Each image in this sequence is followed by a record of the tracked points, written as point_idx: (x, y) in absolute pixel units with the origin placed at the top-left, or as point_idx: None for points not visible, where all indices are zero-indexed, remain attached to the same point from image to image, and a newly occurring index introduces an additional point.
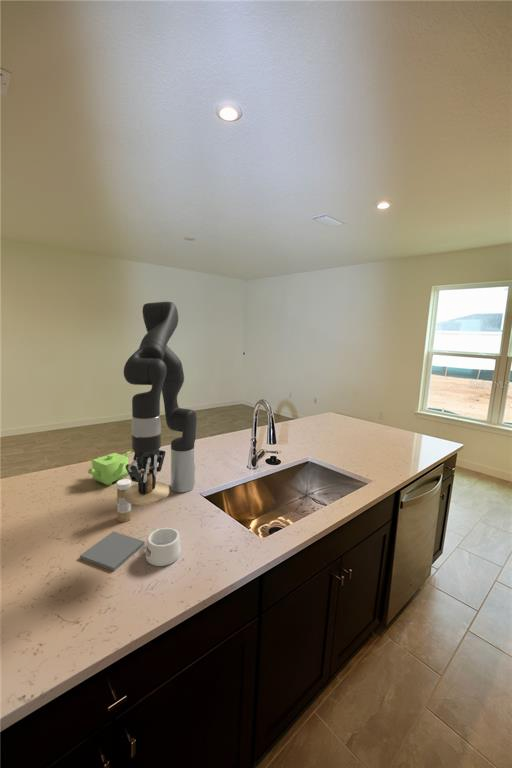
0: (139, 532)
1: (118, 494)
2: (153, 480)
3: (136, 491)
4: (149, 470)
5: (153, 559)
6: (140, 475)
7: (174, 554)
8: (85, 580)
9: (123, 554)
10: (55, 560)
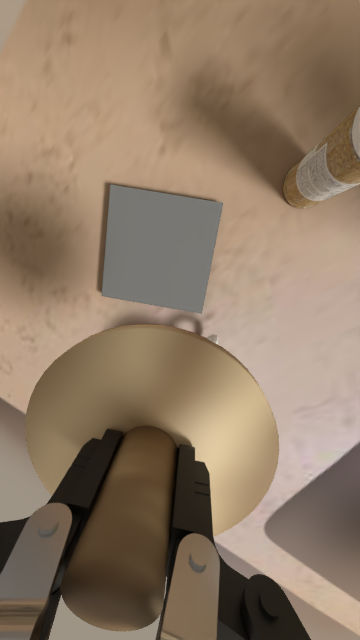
0: (244, 272)
1: (340, 129)
2: None
3: (125, 399)
4: (184, 607)
5: None
6: (45, 575)
7: None
8: (65, 252)
9: (145, 291)
10: (89, 125)
